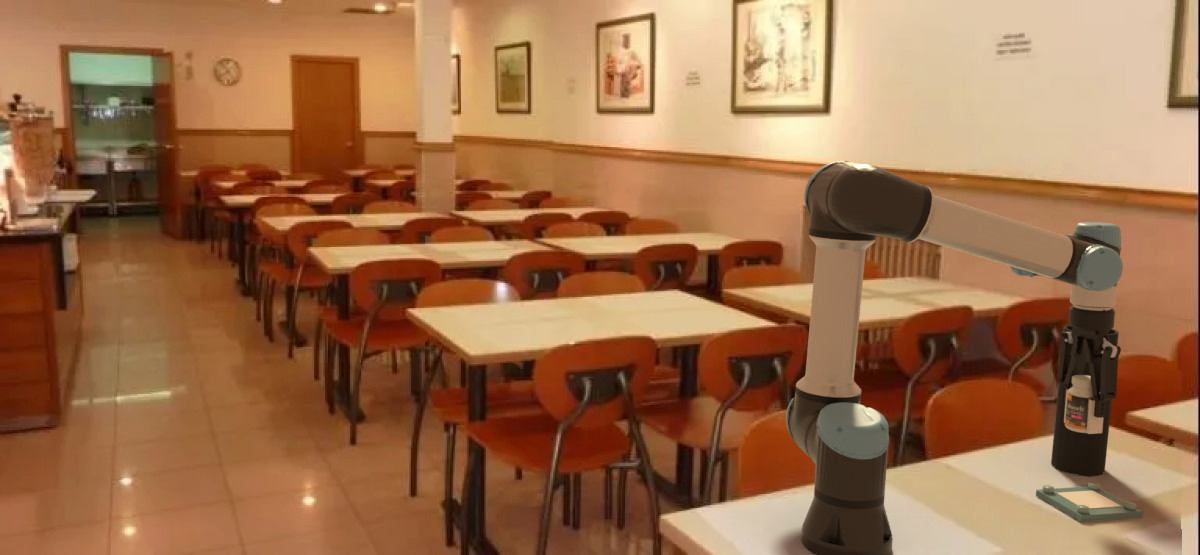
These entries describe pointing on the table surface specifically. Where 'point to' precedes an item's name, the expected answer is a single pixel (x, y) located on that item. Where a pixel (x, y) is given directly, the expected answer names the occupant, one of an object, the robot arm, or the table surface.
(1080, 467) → the vase
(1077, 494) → the plate
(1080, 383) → the pill bottle
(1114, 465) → the table surface
